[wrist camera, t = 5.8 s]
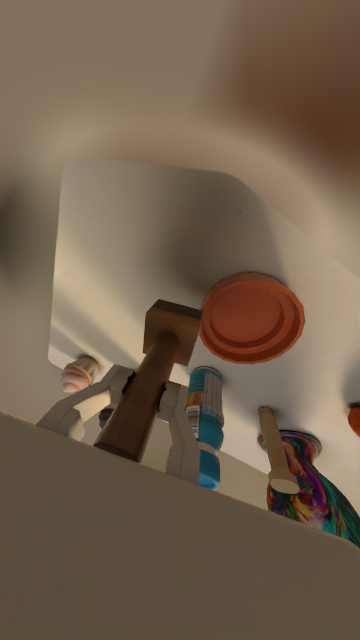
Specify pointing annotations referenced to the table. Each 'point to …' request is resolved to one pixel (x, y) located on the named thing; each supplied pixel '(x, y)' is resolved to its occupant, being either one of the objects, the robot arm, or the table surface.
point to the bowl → (250, 319)
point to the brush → (150, 378)
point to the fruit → (355, 420)
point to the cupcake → (79, 374)
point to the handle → (276, 455)
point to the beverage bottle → (206, 422)
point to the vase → (312, 492)
